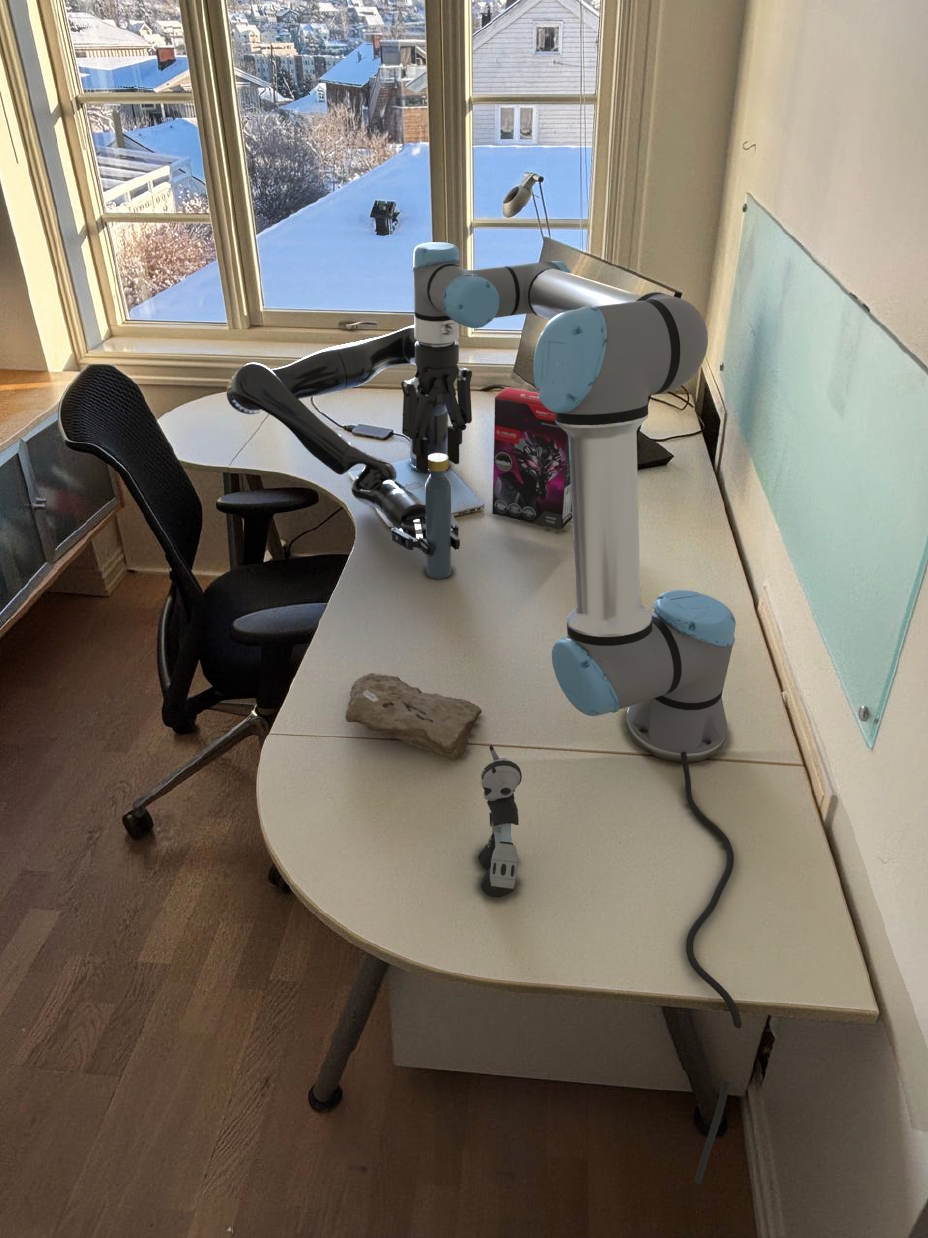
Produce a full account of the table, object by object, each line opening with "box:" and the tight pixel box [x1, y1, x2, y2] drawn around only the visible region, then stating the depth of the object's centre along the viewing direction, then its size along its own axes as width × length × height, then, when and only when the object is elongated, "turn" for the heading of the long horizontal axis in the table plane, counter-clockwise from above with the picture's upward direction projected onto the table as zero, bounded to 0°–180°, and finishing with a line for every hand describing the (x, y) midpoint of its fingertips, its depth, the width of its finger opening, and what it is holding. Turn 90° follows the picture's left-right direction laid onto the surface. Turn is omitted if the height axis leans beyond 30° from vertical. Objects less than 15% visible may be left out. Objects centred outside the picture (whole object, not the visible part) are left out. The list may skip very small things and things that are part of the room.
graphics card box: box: [491, 386, 573, 531], centre depth 194 cm, size 17×7×27 cm, turn 62°
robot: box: [477, 744, 523, 898], centre depth 114 cm, size 20×5×20 cm, turn 3°
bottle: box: [424, 470, 452, 579], centre depth 176 cm, size 5×5×24 cm
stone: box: [344, 672, 483, 761], centre depth 141 cm, size 21×15×6 cm
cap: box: [428, 453, 450, 471], centre depth 169 cm, size 4×4×2 cm
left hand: (445, 548), depth 177 cm, fingers closed on bottle, 5 cm apart
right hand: (437, 465), depth 169 cm, fingers open, 6 cm apart
